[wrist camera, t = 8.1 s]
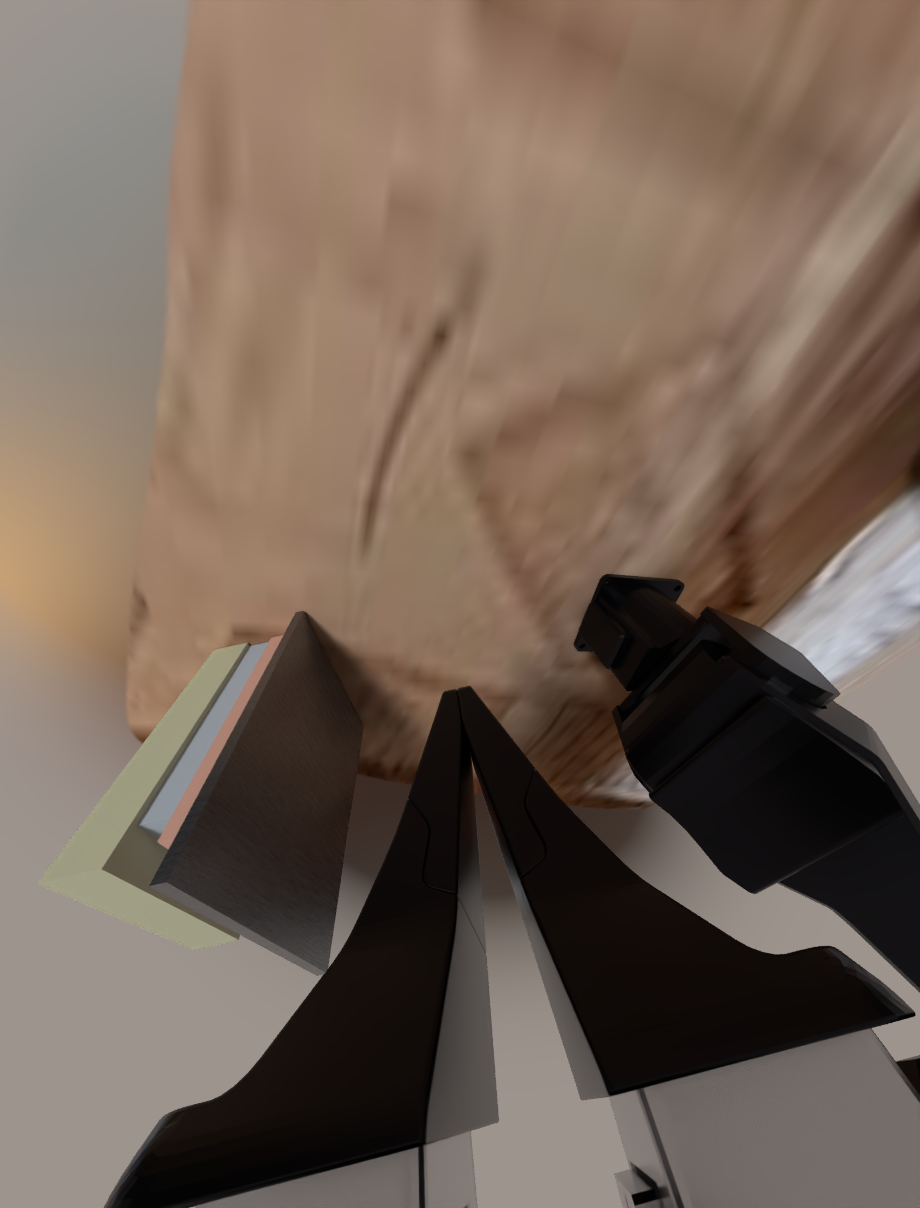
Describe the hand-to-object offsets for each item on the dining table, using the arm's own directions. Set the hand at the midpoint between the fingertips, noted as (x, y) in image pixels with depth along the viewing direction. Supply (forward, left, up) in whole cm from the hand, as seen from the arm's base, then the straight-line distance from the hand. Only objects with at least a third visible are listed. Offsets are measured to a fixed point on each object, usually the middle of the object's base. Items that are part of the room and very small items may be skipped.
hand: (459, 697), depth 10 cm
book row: (+9, +12, -12) cm, 19 cm away
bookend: (+6, +11, -12) cm, 17 cm away
